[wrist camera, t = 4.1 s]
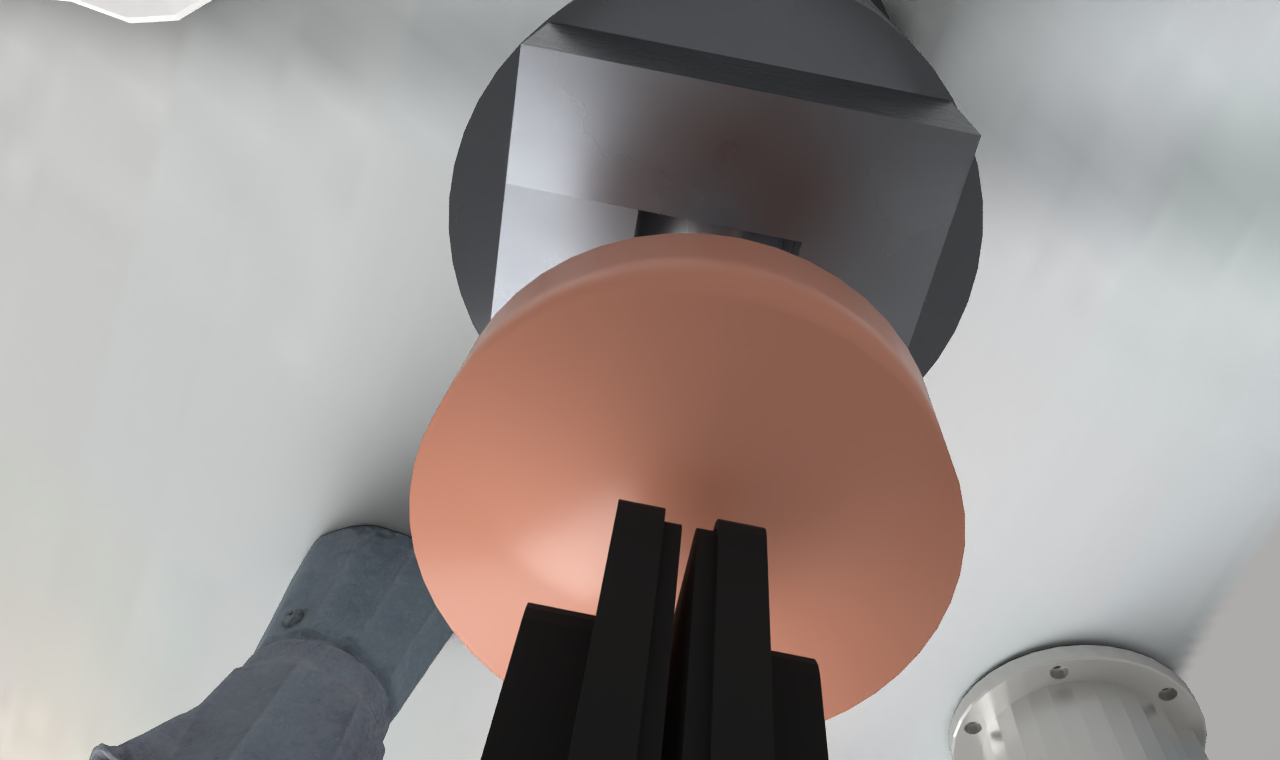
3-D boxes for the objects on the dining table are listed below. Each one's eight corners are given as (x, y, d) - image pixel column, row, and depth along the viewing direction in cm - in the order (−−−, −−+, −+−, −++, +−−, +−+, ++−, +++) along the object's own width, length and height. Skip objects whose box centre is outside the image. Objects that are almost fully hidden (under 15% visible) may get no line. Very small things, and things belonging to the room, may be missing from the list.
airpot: (972, -167, 33) (1261, -215, 15) (826, 328, 42) (891, 686, 24) (599, -241, 33) (414, -381, 15) (533, 269, 42) (367, 582, 24)
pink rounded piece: (954, 204, 16) (1053, 361, 11) (838, 544, 19) (871, 785, 14) (529, 119, 16) (428, 236, 11) (487, 473, 19) (395, 690, 14)
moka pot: (340, 449, 48) (103, 789, 30) (549, 645, 52) (449, 1040, 35) (222, 540, 51) (-54, 894, 33) (427, 717, 56) (281, 1109, 38)
